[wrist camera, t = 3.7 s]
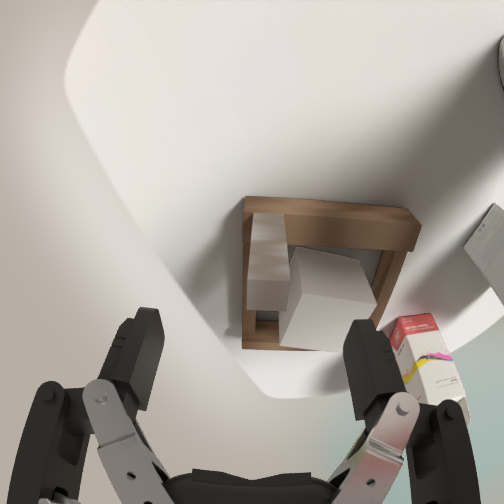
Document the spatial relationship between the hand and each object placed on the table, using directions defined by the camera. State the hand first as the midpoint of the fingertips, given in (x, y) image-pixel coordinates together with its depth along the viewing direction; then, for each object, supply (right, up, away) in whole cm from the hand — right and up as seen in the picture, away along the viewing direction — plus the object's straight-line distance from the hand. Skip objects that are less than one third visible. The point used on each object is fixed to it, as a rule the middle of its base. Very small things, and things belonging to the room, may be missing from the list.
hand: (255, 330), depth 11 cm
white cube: (+6, +1, +15) cm, 16 cm away
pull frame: (+6, +1, +15) cm, 16 cm away
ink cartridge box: (+19, -7, +20) cm, 28 cm away
